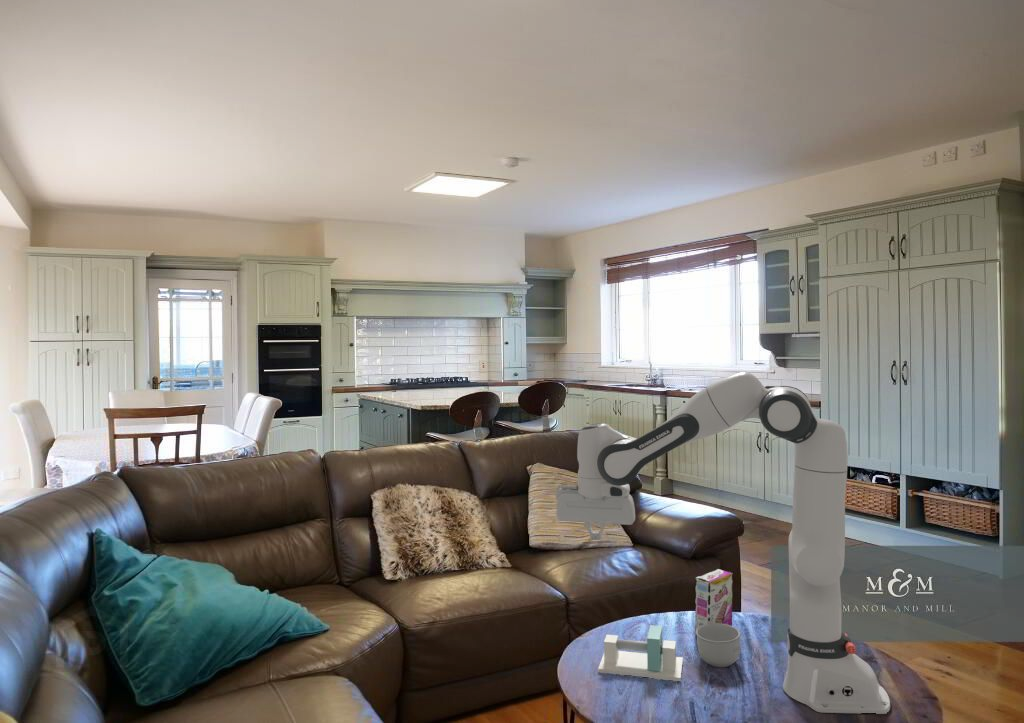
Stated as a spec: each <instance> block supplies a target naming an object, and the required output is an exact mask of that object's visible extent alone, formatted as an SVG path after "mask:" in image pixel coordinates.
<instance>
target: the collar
mask: <svg viewBox="0 0 1024 723" xmlns="http://www.w3.org/2000/svg"><path fill="white" fill-rule="evenodd" d="M646 642H647V652H646V654H647V665H648V670H652V671H660V668H661V663H662V657H663V655H662V654H661V652H660V644H661V643H663V625H653V624H650V626H649V629H648V633H647V637H646Z"/></svg>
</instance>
